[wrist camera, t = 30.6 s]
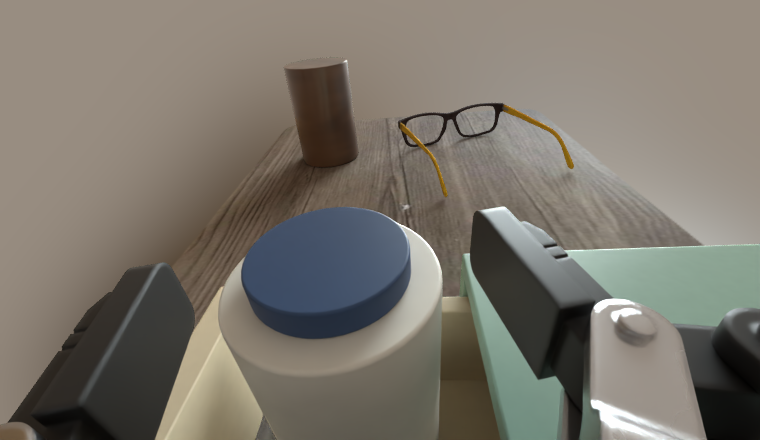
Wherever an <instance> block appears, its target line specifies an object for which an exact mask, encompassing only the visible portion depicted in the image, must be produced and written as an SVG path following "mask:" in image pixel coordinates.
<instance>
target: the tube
mask: <svg viewBox="0 0 760 440" xmlns="http://www.w3.org/2000/svg"><path fill="white" fill-rule="evenodd" d="M442 281H443V279H442V271H441V267H440V264H439V261H438V259H437V257H436V255H435V253H434V252H433V250H432V248H431V247H430V246H429V245H428V243H427V242H426V241H425V240H424V239H423V238H421V237H420V236H419V235H418V234H416V233H415V232H414V231H412V230H410V229H408V228H407V227H405V226H403V225H400V224H398V223H396V222H395V221H394V220H392V219H391V218H389V217H387V216H385V215H383V214H381V213H378V212H375V211H372V210H367V209H362V208H353V207H336V208H326V209H320V210H315V211H311V212H307V213H304V214H301V215H298V216H296V217H293V218H291V219H288V220H286V221H284V222H282V223H280V224H279V225H277V226H275V227H274V228H272V229H271V230H269V231H268V232H266V233H265V234H264V235H263V236H261V237H260V238H259V239H258V240H257V241H256V242H255V243H254V245H253V246H252V247H251V248H250V250H249V251H248V253H247V255H246V256H245V257H244V258H243V259H242V260H241V261H240V262H239V264H238V265H237V266H236V267H235V269H234V270H233V271H232V273H231V274H230V276H229V277H228V279H227V281H226V283H225V285H224V287H223V289H222V292H221V296H220V300H219V307H218V321H219V327H220V330H221V333H222V336H223V338H224V340H225V342H226V344H227V346H228V348H229V349H230V351H231V353H232V355H233V357H234V359H235V361H236V363H237V365H238V367H239V369H240V371H241V372H242V374H243V376H244V378H245V380H246V382H247V384H248V386H249V388H250V390H251V392H252V394H253V395H254V397H255V399H256V401H257V403H258V405H259V407H260V409H261V411H262V413H263V415H264V417H265V419H266V420H267V422H268V424H269V426H270V428H271V430H272V432H273V434H274V436H275V438H276V440H438V439H439V399H440V360H441V321H442Z"/></svg>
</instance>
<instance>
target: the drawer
mask: <svg viewBox="0 0 760 440" xmlns="http://www.w3.org/2000/svg"><path fill="white" fill-rule="evenodd" d="M222 289H223V287H220V289H219V290H218V292H217V294H216V295H215V297H214V298H213V300H212V302H211V303H210V305H209V307H208V308H207V310H206V312H205V313H204V315H203V316H202V318H201V320H200V321H199V323H198V325H197V326H196V328H195V329H194V331H193V333H192V335H191V337H190V340H189V343H188V346H187V349H186V352H185V355H184V357H183V360H182V363H181V366H180V369H179V372H178V375H177V378H176V380H175V383H174V386H173V389H172V392H171V395H170V398H169V401H168V403H167V406H166V409H165V412H164V415H163V418H162V421H161V424H160V426H159V429H158V432H157V435H156V438H155V440H255V439H256V436H257V433H258V430H259V427H260V424H261V421H262V418H263V413H262V411H261V409H260V407H259V405H258V403H257V401H256V399H255V397H254V395H253V394H252V392H251V390H250V388H249V386H248V384H247V382H246V380H245V378H244V376H243V374H242V372H241V371H240V369H239V367H238V365H237V363H236V361H235V359H234V357H233V355H232V353H231V351H230V349H229V348H228V346H227V344H226V342H225V340H224V338H223V336H222V333H221V330H220V327H219V321H218V307H219V300H220V296H221V292H222ZM438 440H501V439H500V435H499V430H498V426H497V421H496V417H495V413H494V408H493V404H492V399H491V395H490V391H489V386H488V382H487V377H486V373H485V369H484V364H483V360H482V355H481V351H480V347H479V342H478V338H477V333H476V329H475V325H474V320H473V316H472V311H471V307H470V303H469V298H468V297H442V321H441V360H440V399H439V439H438Z"/></svg>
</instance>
